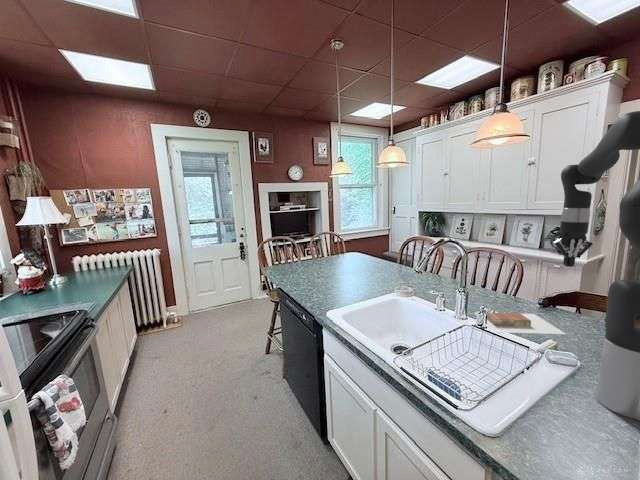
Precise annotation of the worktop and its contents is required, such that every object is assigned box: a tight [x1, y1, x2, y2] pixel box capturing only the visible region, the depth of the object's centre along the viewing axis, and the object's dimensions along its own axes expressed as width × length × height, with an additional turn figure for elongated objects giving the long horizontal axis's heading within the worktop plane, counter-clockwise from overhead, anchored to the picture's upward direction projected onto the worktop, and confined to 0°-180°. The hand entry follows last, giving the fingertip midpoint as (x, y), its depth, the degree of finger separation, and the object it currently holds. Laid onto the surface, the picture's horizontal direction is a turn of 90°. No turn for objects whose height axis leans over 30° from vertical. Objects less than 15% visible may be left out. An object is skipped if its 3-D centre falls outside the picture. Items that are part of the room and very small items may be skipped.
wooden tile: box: [486, 312, 531, 327], centre depth 112 cm, size 3×7×14 cm
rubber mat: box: [473, 312, 567, 335], centre depth 112 cm, size 26×18×1 cm
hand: (568, 266), depth 100 cm, fingers closed
